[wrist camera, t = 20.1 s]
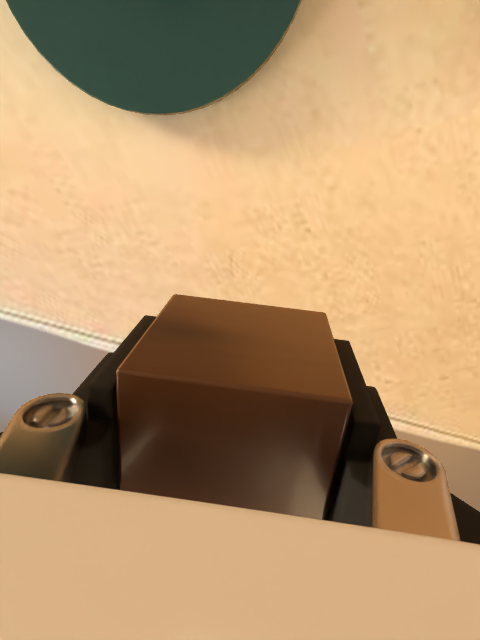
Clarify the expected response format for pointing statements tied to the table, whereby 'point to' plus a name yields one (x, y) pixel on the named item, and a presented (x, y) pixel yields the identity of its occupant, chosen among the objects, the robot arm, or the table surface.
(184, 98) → the lid
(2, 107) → the table surface
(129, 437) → the block
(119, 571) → the robot arm
